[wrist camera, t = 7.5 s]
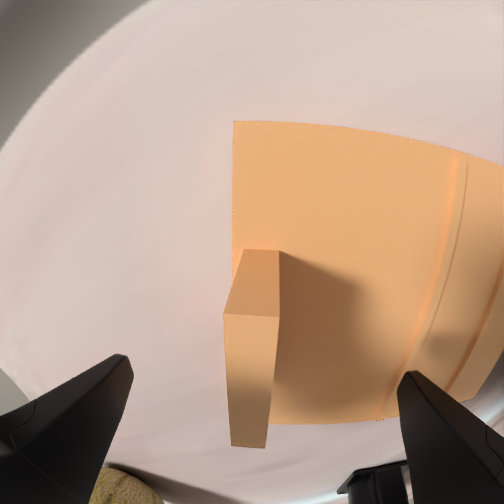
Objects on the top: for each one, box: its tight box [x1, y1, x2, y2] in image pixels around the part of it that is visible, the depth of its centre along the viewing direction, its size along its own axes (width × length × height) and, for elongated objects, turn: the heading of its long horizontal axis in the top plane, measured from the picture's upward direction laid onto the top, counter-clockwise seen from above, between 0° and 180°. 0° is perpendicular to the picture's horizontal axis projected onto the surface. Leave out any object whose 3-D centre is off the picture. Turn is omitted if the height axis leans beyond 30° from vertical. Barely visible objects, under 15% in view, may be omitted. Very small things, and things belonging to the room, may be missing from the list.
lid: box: [223, 121, 504, 449], centre depth 9 cm, size 15×17×5 cm
